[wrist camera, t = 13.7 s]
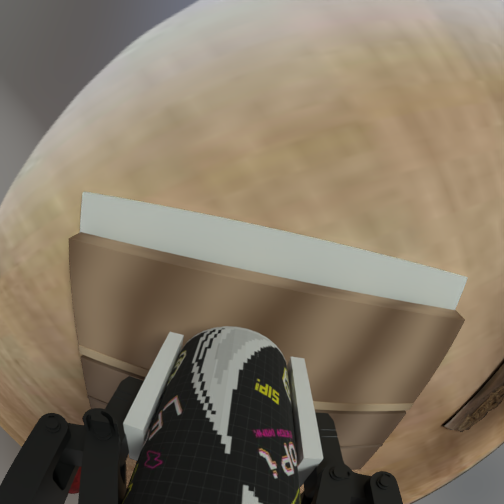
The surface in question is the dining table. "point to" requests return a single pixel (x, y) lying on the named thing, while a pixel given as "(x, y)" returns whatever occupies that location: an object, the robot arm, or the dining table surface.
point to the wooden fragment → (480, 403)
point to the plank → (256, 321)
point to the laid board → (346, 422)
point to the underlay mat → (267, 250)
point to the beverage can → (221, 427)
